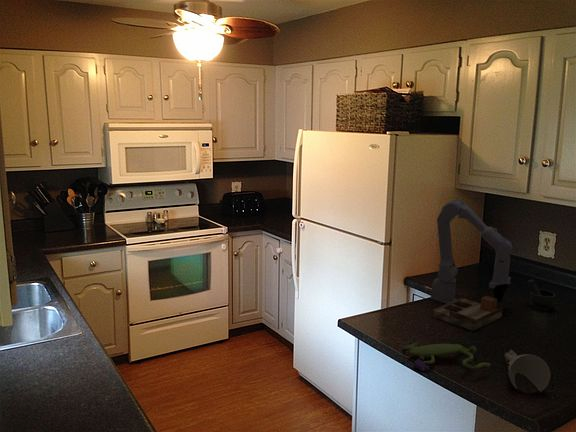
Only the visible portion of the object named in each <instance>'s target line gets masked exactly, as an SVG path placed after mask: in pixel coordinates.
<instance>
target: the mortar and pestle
mask: <svg viewBox="0 0 576 432" xmlns="http://www.w3.org/2000/svg"><path fill="white" fill-rule="evenodd" d="M527 284H528V285H529V287H530V289H531V290H529V299H530V301H531V302H532V303H533V305H532V308H533V309H534V310H536V311H540V312H548V311H550V306H552V305H553V304H554V303H555V301H556V299H557V294H555V292H552V291H550V290H547V289H542V288H541V289H540V288H538V286H537V284H536V283H535V279H534V278H533V279H529V280H527Z"/></svg>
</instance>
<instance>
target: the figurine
mask: <svg viewBox="0 0 576 432" xmlns="http://www.w3.org/2000/svg"><path fill="white" fill-rule="evenodd" d="M419 345H420V344H419V342H418V341H417V342H415V343H412V344H409V345H404V346H402V349H403V350H404V351H406V350H409V353H410V354H411V355H415V356H418V358H417V359H416V360H414V364H413V365H414V368H416V369H418V370H419V371H422V372H423V371H426V372H428V371H429V370H430V366H429V365H430V364H434V363H435V362H436V359H435V356H438V357H439V358H442V359H443V357H442V355H450V354H453V353H456V352H460V353H462V354H464V355H466V356H468V357H467V358H465V359H463V360H462V362H461V364H462V365H463V366H464V367H466V368H470V369H474V370H476V369H481V368H483V367H487V368H490V367H491V363H490V362H480V363H478V364H476V365H471V364H468V363H469V362H470V361H473V360H474V359H475V356H474V354H475V352H476V351H477V347H475V346H474V345H471V346H470V347H469V348H467V347H464V346H463V345H461V344H459V343H457V344H455V343H454V344H453V343H434V344H425V345H421V346H419ZM471 350H473V353H472V352H471ZM426 358H428V359H429V358H430V360H425V359H426ZM423 360H424V361H423Z"/></svg>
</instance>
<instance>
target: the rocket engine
mask: <svg viewBox="0 0 576 432" xmlns="http://www.w3.org/2000/svg"><path fill="white" fill-rule="evenodd" d="M503 356H504V357H505V362H507V364H509V366H508V377H509V380H510V382H511V384H512V386H513V387H514V388H515V389H516V390H517V387H516V384H515V374H516V373H520V374H523V375H524V376H526V377H527V378H528V379H529V380H530V381H531V382H532V383H533V384H534V385H535V386H536V387H537V389H538V390H539V391H540V392H539V393H541V392H543V391H544V390H545V389H546V388H547V387H548V385H549V383H550V380H551V370H550V367H549V365H548V363H547V362H546V361H545V360H544V359H542V358H541V357H539V356H538V355H534V354H520V355H518V354H517V353H516V352H515V351H514V350H512V349H510V350H509V351H508V352H505V353H504V355H503Z"/></svg>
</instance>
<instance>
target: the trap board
mask: <svg viewBox="0 0 576 432" xmlns="http://www.w3.org/2000/svg"><path fill="white" fill-rule="evenodd" d="M457 299H458V300H455V301H453V302H450V303H448V304H444V305H440V306H439V307H436V308H433V309H432V310H431V311H432V312H431V318H434V319H437V320H439V319H440V320H439V321H442V320H443V321H442V322H445V321H446V322H445V323H447V322H449V323H448V324H450V323H452V324H451V325H453V324H455V325H454V326H456V325H458V326H461V327H464V328H467V329H470V330H473V331H474V330H476V329H478V328H480V327H482V326H484V325H486V326H488V325H489V323H490V324H492V323H494V322H495V321H498V320H500V319H502V318H501V317H503V308H504V307H501V306H500V307H499V308H496V310H494V311H491V312H489V311H486V310H483V309H480V305H481V302H477V301H473V300H470V299H467V298H464V297H460V298H457ZM497 319H498V320H497ZM493 321H494V322H493ZM491 322H492V323H491ZM487 324H488V325H487ZM458 326H457V327H458ZM461 327H460V328H461ZM484 327H485V326H484ZM464 328H463V329H464ZM482 328H483V327H482ZM467 329H466V330H467ZM480 329H481V328H480ZM470 330H469V331H470ZM478 330H479V329H478ZM476 331H477V330H476ZM474 332H475V331H474Z"/></svg>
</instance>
